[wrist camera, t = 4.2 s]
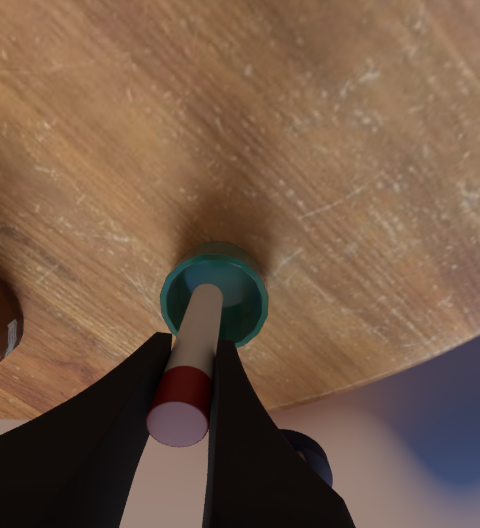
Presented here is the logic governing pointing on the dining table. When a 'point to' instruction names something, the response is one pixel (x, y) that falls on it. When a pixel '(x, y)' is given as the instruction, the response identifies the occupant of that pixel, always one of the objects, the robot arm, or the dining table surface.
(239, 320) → the thermos cup
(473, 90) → the dining table surface
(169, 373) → the marker
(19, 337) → the cake slice
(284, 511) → the robot arm
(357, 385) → the dining table surface
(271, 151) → the dining table surface
